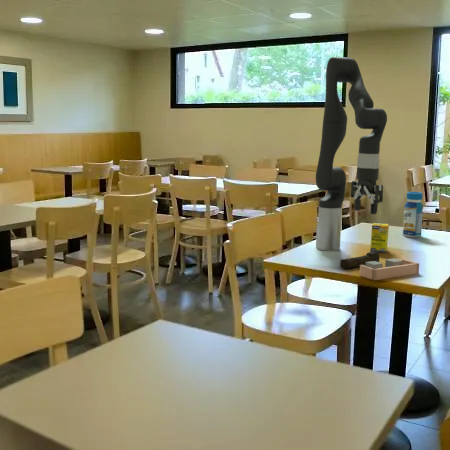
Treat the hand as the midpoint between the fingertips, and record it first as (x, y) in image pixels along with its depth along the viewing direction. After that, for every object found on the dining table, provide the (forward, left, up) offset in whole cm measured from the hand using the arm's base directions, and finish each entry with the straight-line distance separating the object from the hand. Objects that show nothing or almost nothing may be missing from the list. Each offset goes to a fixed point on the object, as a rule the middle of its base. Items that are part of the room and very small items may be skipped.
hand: (365, 212), depth 203 cm
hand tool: (0, -1, -20) cm, 20 cm away
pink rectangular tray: (+14, 0, -20) cm, 24 cm away
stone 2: (+11, +5, -20) cm, 23 cm away
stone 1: (+11, -4, -20) cm, 23 cm away
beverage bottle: (-34, +58, -20) cm, 70 cm away
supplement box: (-16, +22, -20) cm, 34 cm away
